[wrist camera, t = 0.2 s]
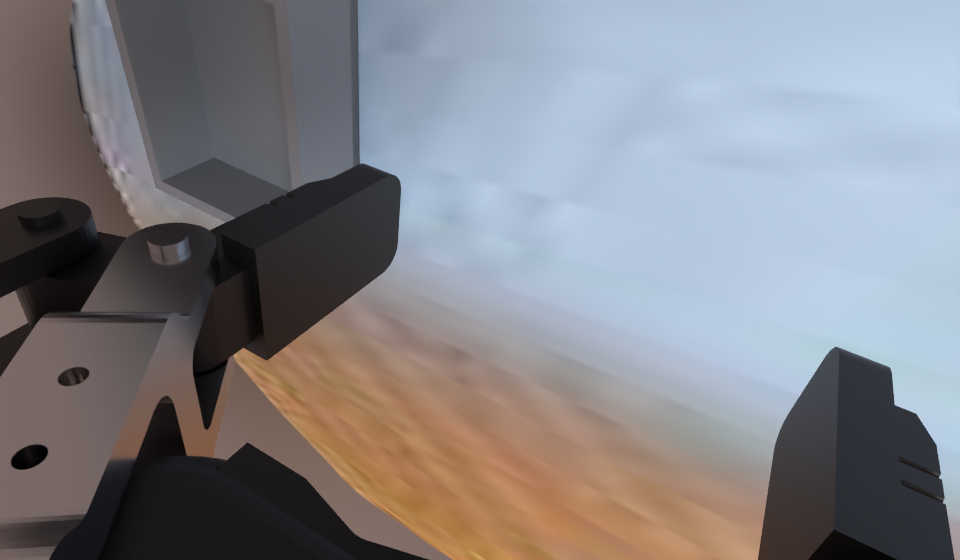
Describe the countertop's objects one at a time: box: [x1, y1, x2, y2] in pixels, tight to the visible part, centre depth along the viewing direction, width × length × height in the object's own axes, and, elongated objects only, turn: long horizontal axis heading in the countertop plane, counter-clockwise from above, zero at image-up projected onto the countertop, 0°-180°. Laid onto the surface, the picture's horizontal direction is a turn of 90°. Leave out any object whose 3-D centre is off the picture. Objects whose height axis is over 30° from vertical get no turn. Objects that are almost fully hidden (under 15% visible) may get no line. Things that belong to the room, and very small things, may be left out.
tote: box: [106, 0, 360, 222], centre depth 35 cm, size 16×14×5 cm
